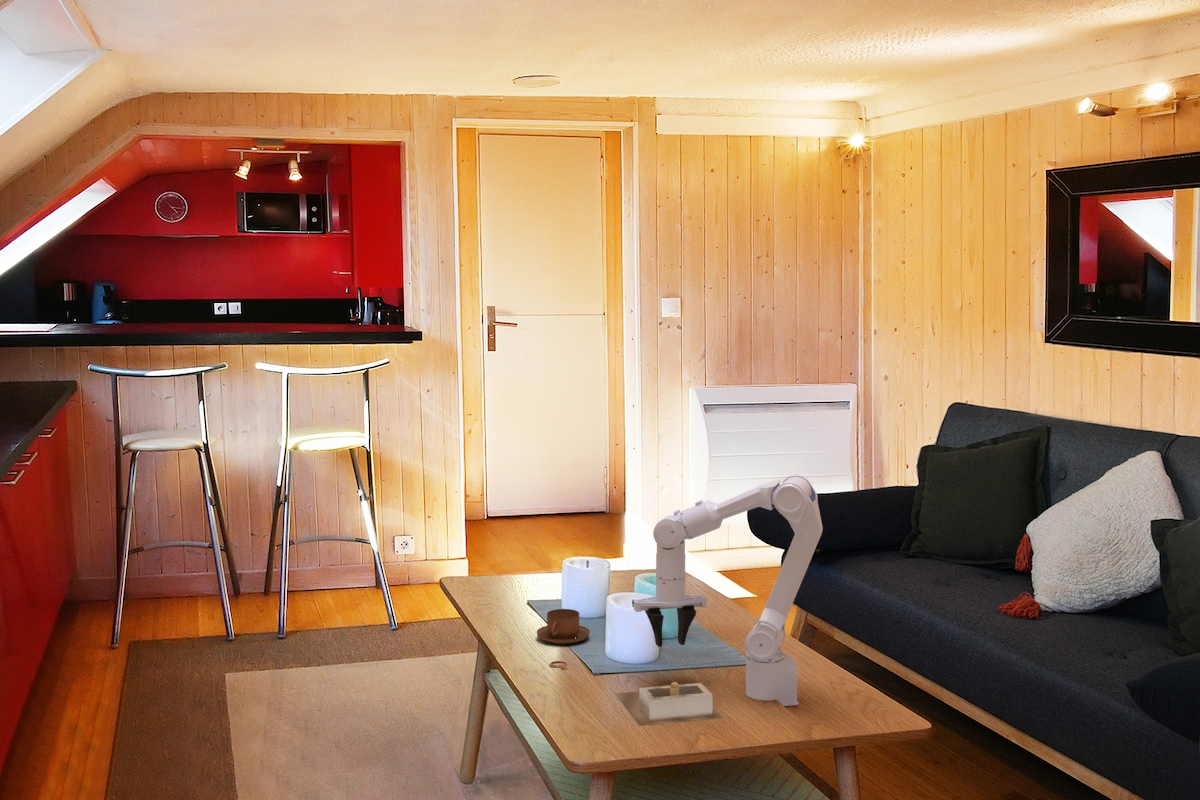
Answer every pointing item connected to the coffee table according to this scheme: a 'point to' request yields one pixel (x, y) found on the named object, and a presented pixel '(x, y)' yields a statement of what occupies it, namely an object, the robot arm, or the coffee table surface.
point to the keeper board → (632, 706)
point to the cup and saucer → (563, 627)
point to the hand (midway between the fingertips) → (670, 644)
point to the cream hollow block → (675, 702)
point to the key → (559, 665)
